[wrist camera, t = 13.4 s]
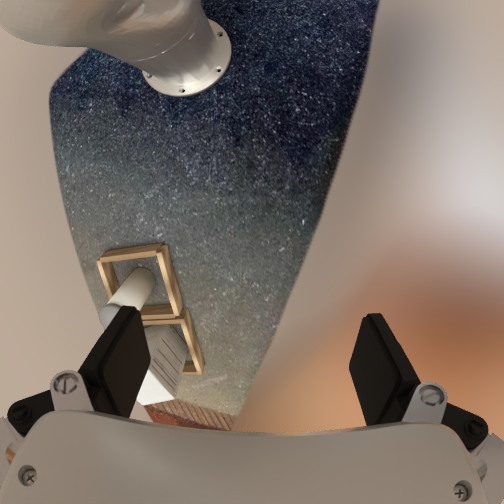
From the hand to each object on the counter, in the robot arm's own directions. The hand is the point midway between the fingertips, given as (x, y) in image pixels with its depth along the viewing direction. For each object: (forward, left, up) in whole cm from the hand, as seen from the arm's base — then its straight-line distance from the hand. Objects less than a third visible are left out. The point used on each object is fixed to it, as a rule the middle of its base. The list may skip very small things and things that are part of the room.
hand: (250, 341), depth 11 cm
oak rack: (+20, -17, -30) cm, 40 cm away
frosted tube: (+14, -18, -30) cm, 38 cm away
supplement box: (+26, -16, -31) cm, 43 cm away
